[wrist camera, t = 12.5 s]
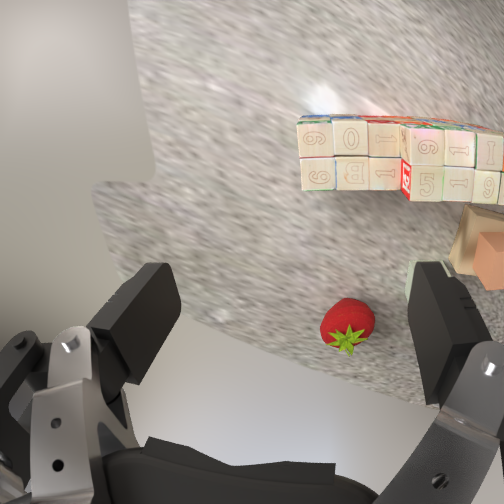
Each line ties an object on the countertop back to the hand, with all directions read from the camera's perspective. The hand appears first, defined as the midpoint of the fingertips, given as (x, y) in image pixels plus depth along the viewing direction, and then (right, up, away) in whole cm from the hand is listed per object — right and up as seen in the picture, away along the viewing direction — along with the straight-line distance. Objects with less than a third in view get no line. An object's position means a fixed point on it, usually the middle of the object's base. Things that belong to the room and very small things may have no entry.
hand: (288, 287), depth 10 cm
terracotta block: (+29, +1, +21) cm, 35 cm away
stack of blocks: (+15, +14, +22) cm, 30 cm away
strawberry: (+12, -6, +33) cm, 36 cm away
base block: (+30, +3, +24) cm, 38 cm away
